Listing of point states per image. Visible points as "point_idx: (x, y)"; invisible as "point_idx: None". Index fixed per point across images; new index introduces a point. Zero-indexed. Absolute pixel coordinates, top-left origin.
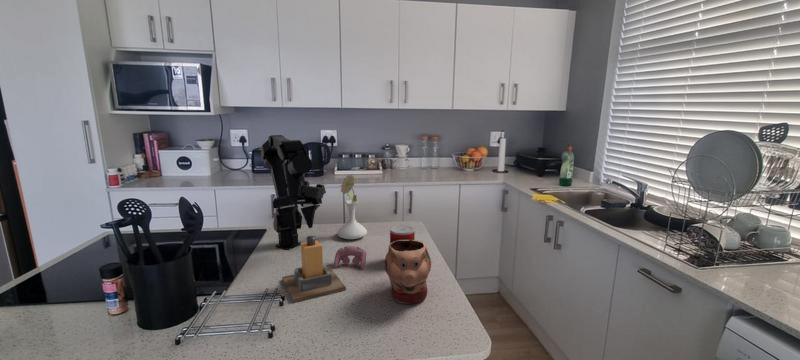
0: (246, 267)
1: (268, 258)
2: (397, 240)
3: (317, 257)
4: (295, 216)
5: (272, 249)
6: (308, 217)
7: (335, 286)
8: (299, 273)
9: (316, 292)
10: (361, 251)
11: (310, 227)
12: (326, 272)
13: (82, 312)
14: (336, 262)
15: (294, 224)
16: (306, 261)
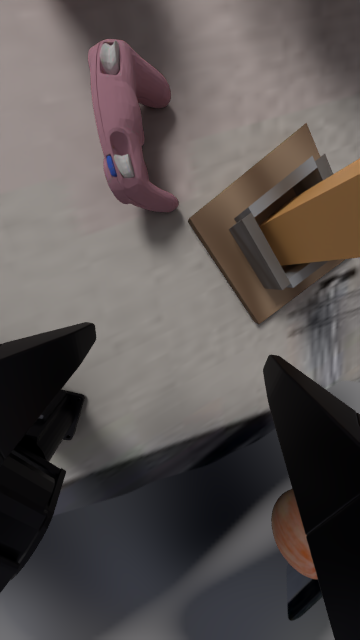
0: (203, 426)
1: (149, 410)
2: None
3: None
4: (344, 428)
5: (93, 432)
6: (36, 382)
7: (304, 158)
8: (312, 262)
9: None
10: (127, 49)
11: (93, 331)
12: (304, 177)
13: None
14: (173, 195)
15: (308, 378)
16: None
